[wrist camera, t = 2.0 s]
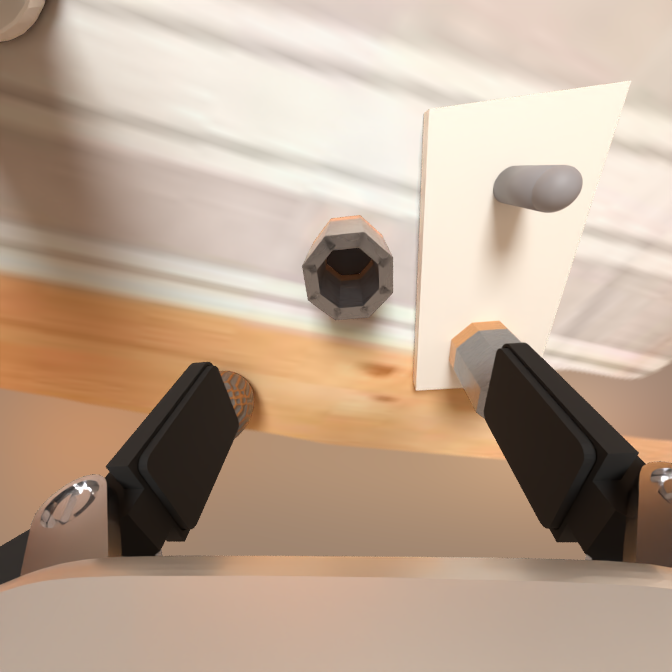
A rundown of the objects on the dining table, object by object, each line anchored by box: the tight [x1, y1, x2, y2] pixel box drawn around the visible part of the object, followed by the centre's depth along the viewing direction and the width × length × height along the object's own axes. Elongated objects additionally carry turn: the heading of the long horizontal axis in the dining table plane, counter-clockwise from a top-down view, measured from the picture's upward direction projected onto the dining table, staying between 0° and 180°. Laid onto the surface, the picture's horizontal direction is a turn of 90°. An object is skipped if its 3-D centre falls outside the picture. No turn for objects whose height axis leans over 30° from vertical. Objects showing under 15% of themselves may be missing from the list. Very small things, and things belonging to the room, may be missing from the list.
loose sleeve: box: [302, 215, 393, 320], centre depth 22 cm, size 6×6×7 cm
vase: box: [219, 371, 254, 439], centre depth 29 cm, size 7×7×9 cm
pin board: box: [413, 81, 631, 390], centre depth 22 cm, size 24×12×8 cm, turn 6°
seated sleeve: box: [449, 321, 522, 419], centre depth 24 cm, size 6×6×7 cm
